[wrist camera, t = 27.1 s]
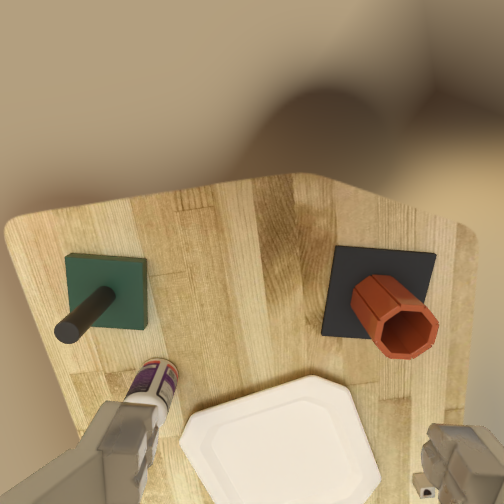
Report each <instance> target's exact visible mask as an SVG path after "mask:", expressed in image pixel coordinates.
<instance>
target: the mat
mask: <svg viewBox="0 0 504 504" xmlns="http://www.w3.org/2000/svg"><path fill="white" fill-rule="evenodd" d="M436 256H437V255H436V254H435V253H425V252H413V251H400V250H387V249H374V248H362V247H349V246H335V252H334V258H333V265H332V271H331V277H330V283H329V289H328V295H327V301H326V307H325V313H324V319H323V325H322V331H321V334H322V336H333V337H347V338H361V339H371V337H370V336H369V334H368V333H367V331H366V330H365V328H364V327H363V325H362V323H361V322H360V320H359V319H358V317H357V316H356V314H355V312H354V311H353V309H352V308H351V305H350V304H351V299H352V293H353V288H355V286H356V285H357V284H359V283H360V282H361V281H363V280H364V279H365V278H367V277H368V276H369V275H370V276H371V277H372V274H374V275H389V276H392V277H394V278H395V279H396V280H397V281H398V282H399V283H400V284H402V285H403V286H404V287H405V288H406V289H407V290H408V291H410V292H411V293H412V294H413V295H414V296H415V297H416V298H417V299H419V300H420V301H421V302H422V303H423V304H424V301H425V297H426V293H427V290H428V286H429V282H430V278H431V275H432V271H433V267H434V263H435V260H436Z"/></svg>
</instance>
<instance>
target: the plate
mask: <svg viewBox="0 0 504 504" xmlns="http://www.w3.org/2000/svg"><path fill="white" fill-rule="evenodd" d="M179 443H180V447H181V448H182V450H183V452H184V453H185V455H186V457H187V458H188V460H189V462H190V463H191V465H192V467H193V468H194V470H195V472H196V473H197V475H198V477H199V478H200V480H201V482H202V483H203V485H204V487H205V488H206V490H207V492H208V493H209V495H210V497H211V498H212V500H213V502H214V503H215V504H363V503H365V502H366V501H367V499H368V498H369V497H370V495H371V494H372V493H373V491H374V490H375V489H376V487H377V486H378V485H379V483H380V482H381V475H380V472H379V469H378V467H377V464H376V461H375V458H374V456H373V453H372V450H371V448H370V445H369V442H368V439H367V437H366V434H365V431H364V429H363V426H362V423H361V421H360V418H359V415H358V412H357V410H356V407H355V404H354V402H353V399H352V396H351V393H350V391H349V390H348V389H347V388H346V387H345V386H343V385H341V384H338V383H335V382H332V381H330V380H327V379H324V378H322V377H319V376H316V375H308V376H305V377H302V378H299V379H295V380H292V381H289V382H286V383H283V384H280V385H277V386H274V387H271V388H268V389H265V390H262V391H259V392H256V393H253V394H250V395H247V396H244V397H240V398H237V399H234V400H231V401H228V402H225V403H222V404H219V405H216V406H213V407H210V408H207V409H204V410H201V411H198V412H195V413H194V414H192V415H191V416H190V418H189V420H188V422H187V424H186V427H185V429H184V431H183V433H182V435H181V437H180V439H179Z"/></svg>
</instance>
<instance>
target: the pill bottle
mask: <svg viewBox="0 0 504 504" xmlns="http://www.w3.org/2000/svg"><path fill="white" fill-rule="evenodd" d="M177 382H178V371H177V369H176V367H175V366H174V365H173V364H172V363H171V362H169V361H167V360H165V359H160V358H155V359H150V360H148V361H146V362H145V363H144V364H143V365H142V366H141V367H140V369H139V371H138V373H137V375H136V377H135V379H134V381H133V383H132V385H131V387H130V389H129V391H128V393H127V395H126V397H125V399H124V401H123V402H131V403H141V404H152V405H157V406H158V415H159V416H158V419H157V421H156V425H157V426H158V428H160V427H161V426H162V425H163V424H164V422H165V420H166V418H167V415H168V412H169V408H170V405H171V402H172V399H173V395H174V392H175V389H176V386H177Z"/></svg>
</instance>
